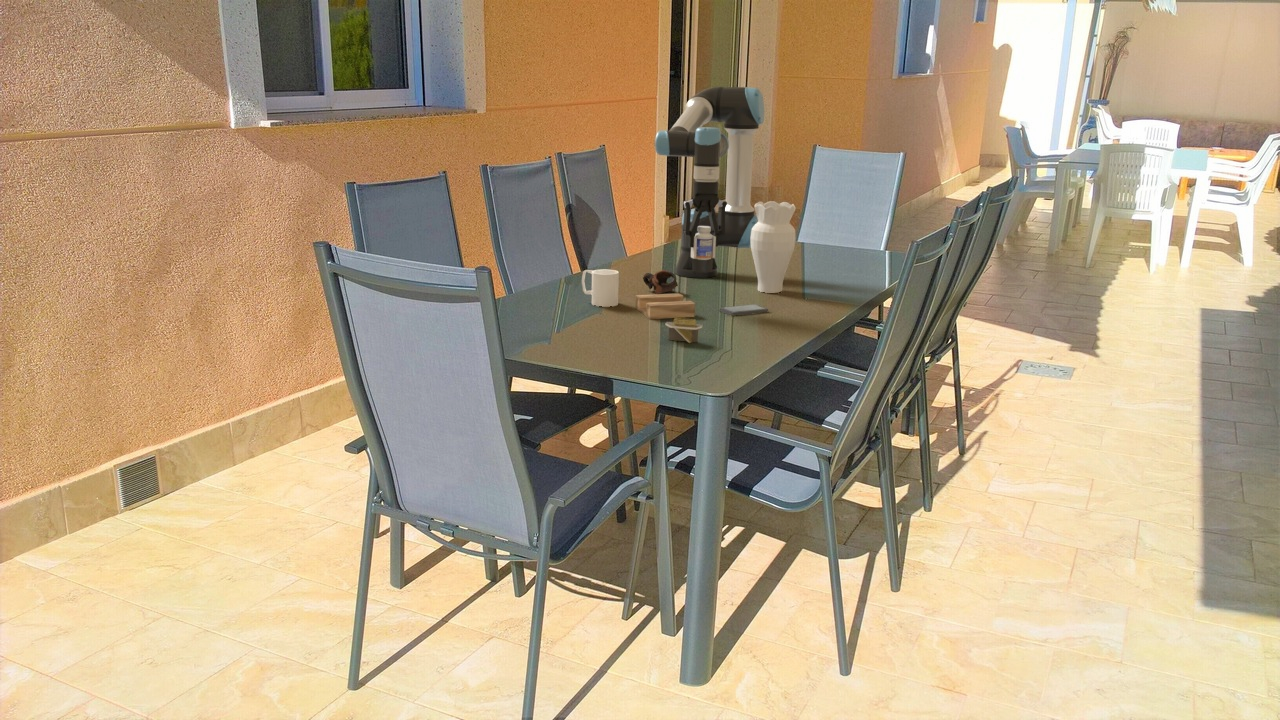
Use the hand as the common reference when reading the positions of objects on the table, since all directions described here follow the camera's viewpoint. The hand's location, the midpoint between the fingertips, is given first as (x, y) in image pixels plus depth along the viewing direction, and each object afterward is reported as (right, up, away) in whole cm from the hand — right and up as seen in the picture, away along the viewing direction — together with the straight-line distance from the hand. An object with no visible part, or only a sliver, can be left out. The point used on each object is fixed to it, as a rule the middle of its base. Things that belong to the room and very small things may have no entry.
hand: (702, 257), depth 308 cm
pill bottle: (0, 0, 0) cm, 1 cm away
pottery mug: (-13, -9, +23) cm, 28 cm away
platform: (-8, -27, -35) cm, 45 cm away
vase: (+24, -9, +28) cm, 38 cm away
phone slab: (+12, -16, -1) cm, 21 cm away
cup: (-32, -14, +6) cm, 35 cm away
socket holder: (-12, -17, -4) cm, 21 cm away
